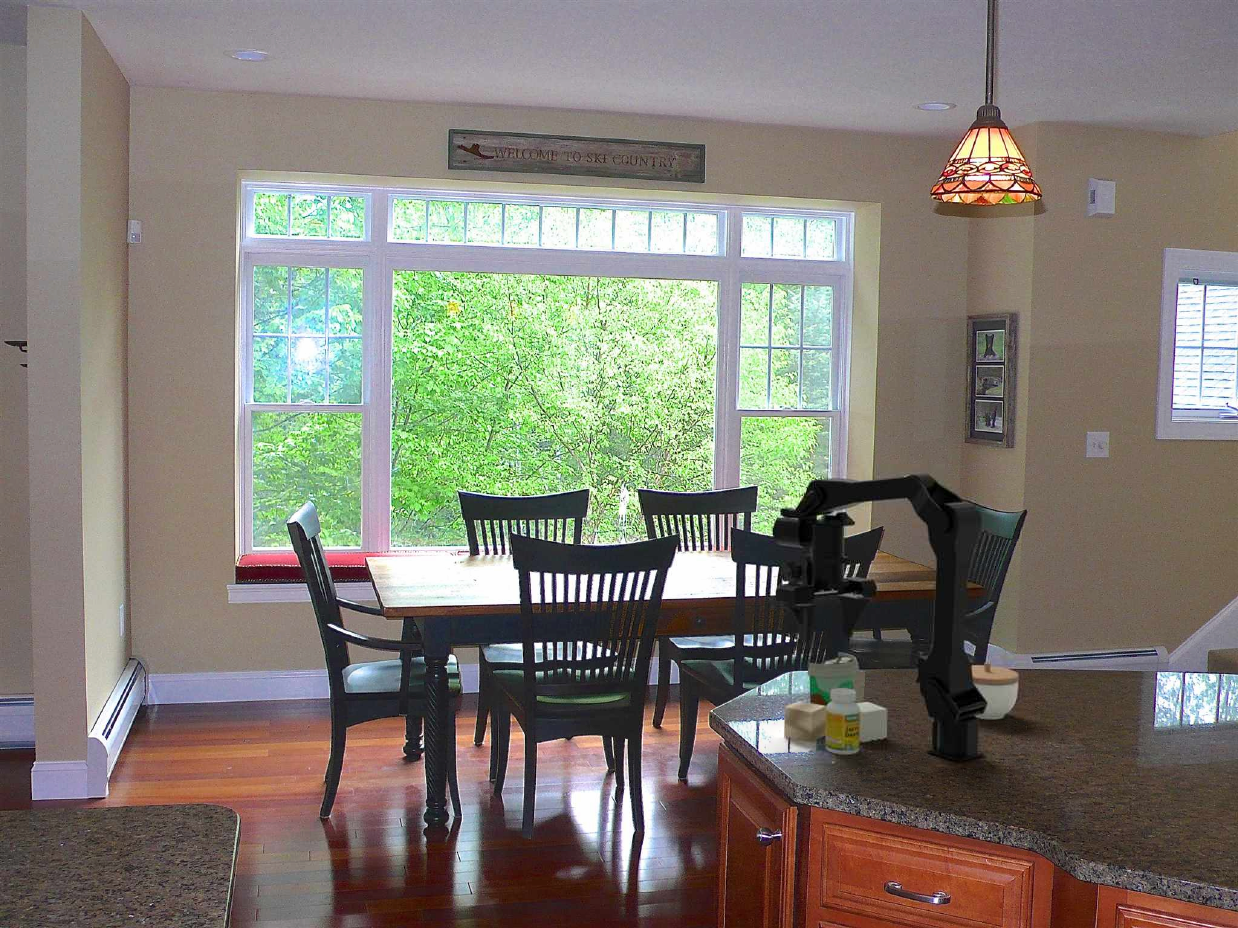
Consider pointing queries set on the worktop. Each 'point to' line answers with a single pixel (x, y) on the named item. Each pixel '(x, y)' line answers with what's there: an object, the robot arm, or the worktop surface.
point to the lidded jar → (996, 689)
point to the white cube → (872, 722)
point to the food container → (831, 677)
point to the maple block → (805, 721)
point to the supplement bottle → (842, 722)
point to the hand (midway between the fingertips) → (826, 639)
